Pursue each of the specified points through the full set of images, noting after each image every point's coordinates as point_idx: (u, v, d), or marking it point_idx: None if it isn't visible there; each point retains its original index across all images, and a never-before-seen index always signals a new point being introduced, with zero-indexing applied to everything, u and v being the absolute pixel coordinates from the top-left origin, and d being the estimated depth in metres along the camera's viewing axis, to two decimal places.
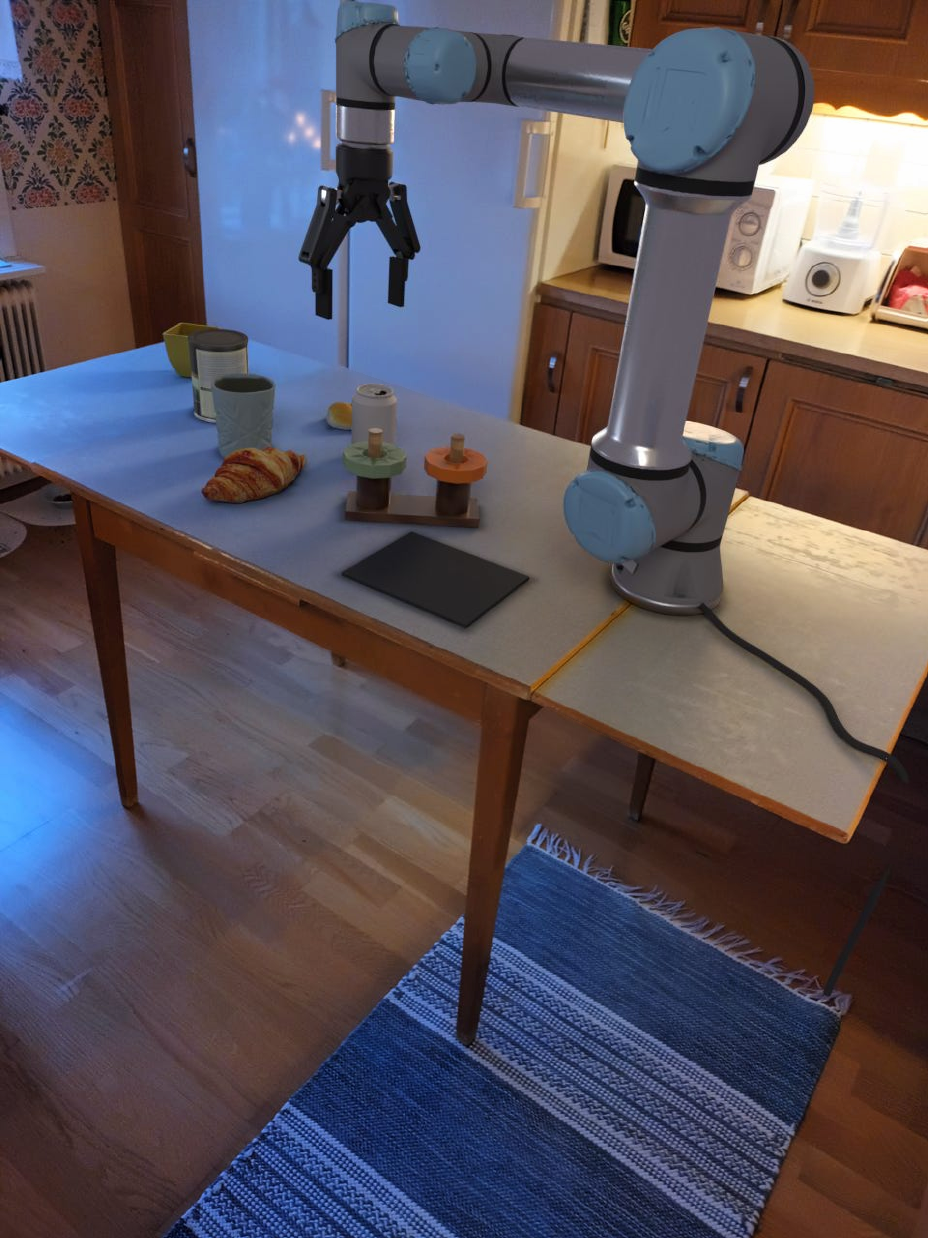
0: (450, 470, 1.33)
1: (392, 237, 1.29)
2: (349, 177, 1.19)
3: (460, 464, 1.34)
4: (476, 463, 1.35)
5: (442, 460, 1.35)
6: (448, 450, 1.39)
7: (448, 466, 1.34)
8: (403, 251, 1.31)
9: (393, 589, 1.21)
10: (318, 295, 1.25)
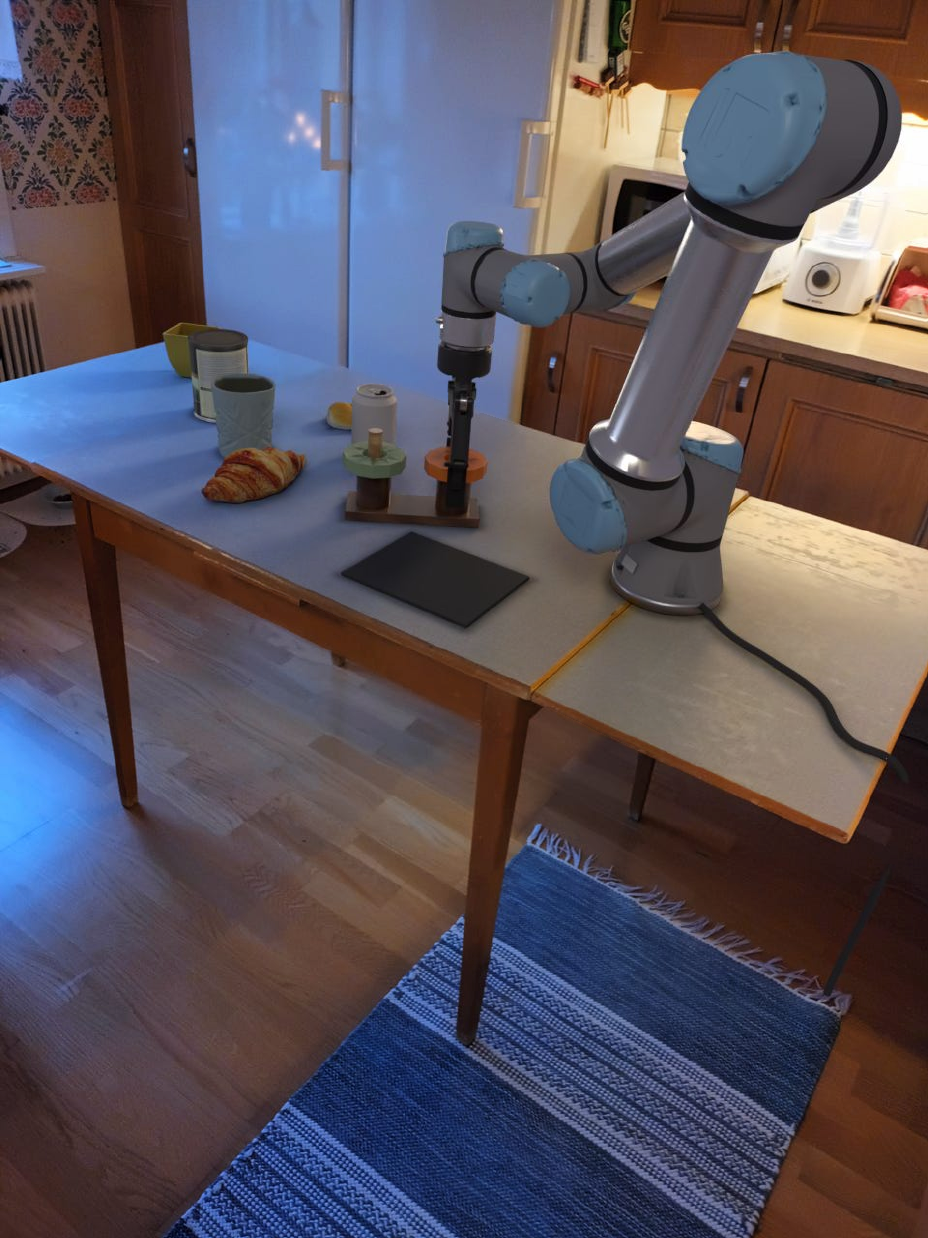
0: None
1: None
2: (473, 378, 1.26)
3: None
4: (476, 463, 1.35)
5: (442, 460, 1.35)
6: (448, 450, 1.39)
7: None
8: None
9: (393, 589, 1.21)
10: (451, 489, 1.33)
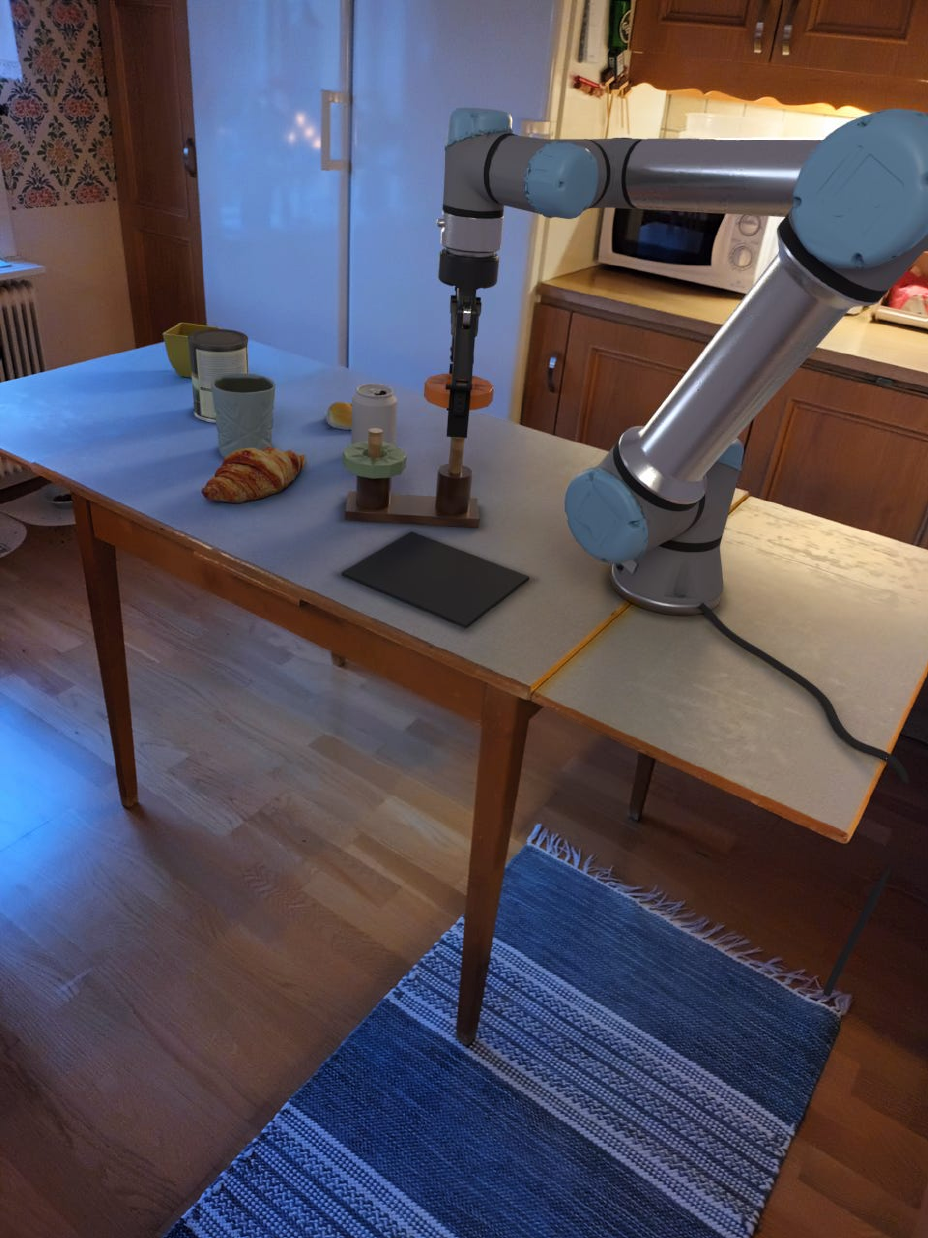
0: None
1: None
2: (477, 288, 1.13)
3: None
4: (481, 389, 1.22)
5: (444, 385, 1.22)
6: (451, 376, 1.26)
7: None
8: None
9: (393, 589, 1.21)
10: (453, 416, 1.20)
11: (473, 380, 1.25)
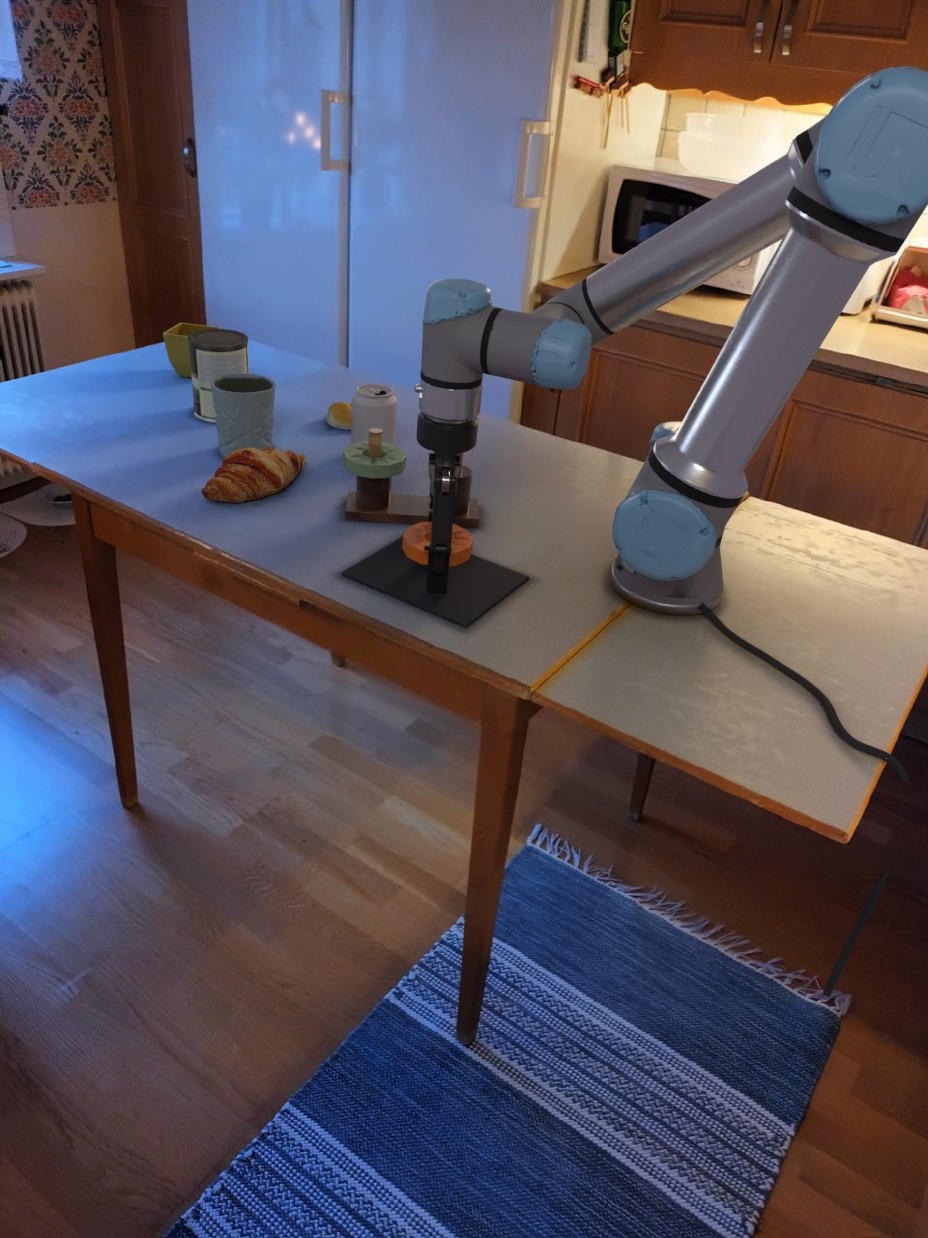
0: None
1: None
2: (456, 453, 1.12)
3: None
4: (460, 543, 1.21)
5: (422, 540, 1.21)
6: (430, 526, 1.24)
7: None
8: None
9: (393, 589, 1.21)
10: (432, 574, 1.19)
11: (452, 530, 1.24)
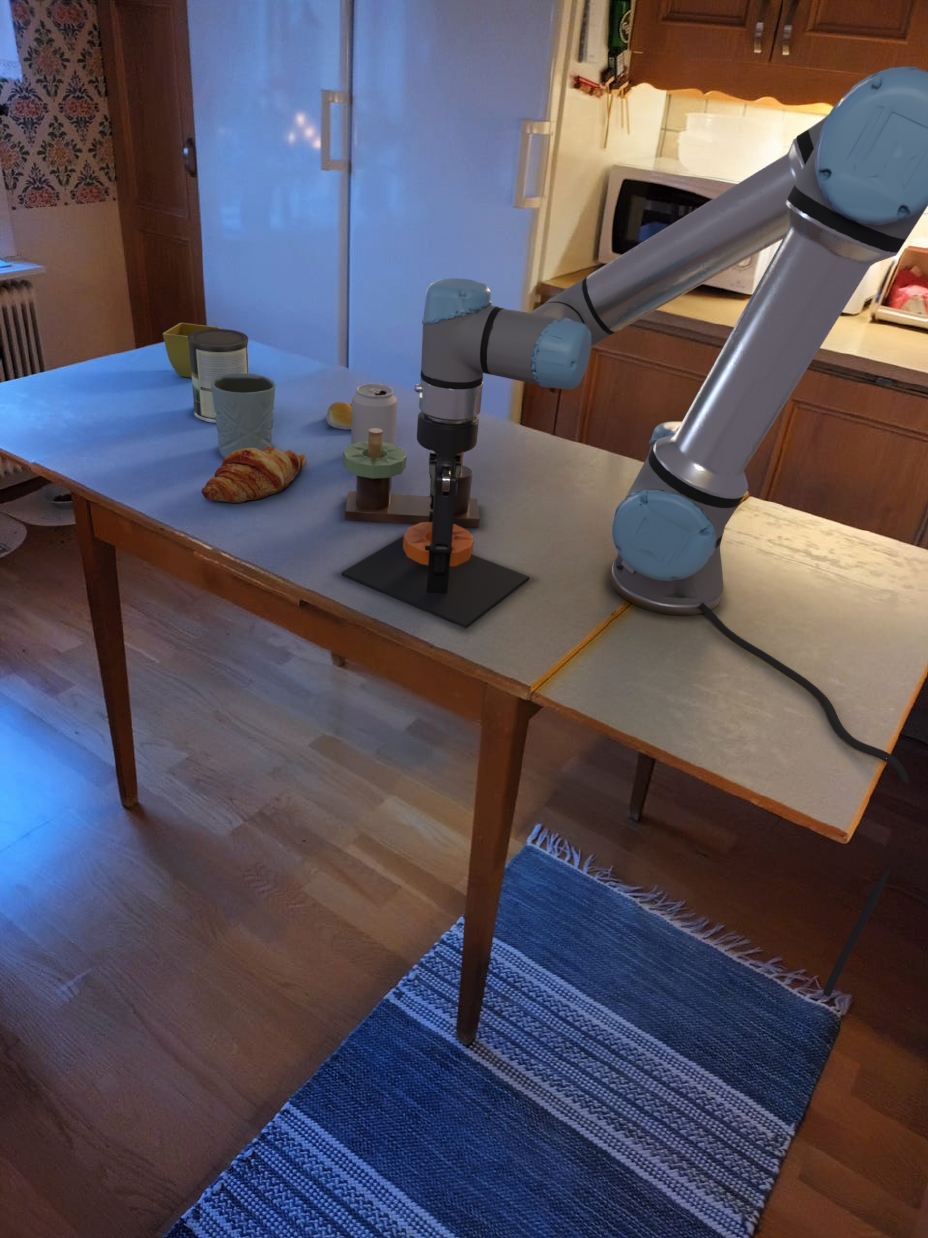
0: None
1: None
2: (456, 453, 1.12)
3: None
4: (461, 543, 1.21)
5: (423, 540, 1.21)
6: (430, 526, 1.24)
7: None
8: None
9: (393, 589, 1.21)
10: (433, 574, 1.19)
11: (453, 531, 1.24)
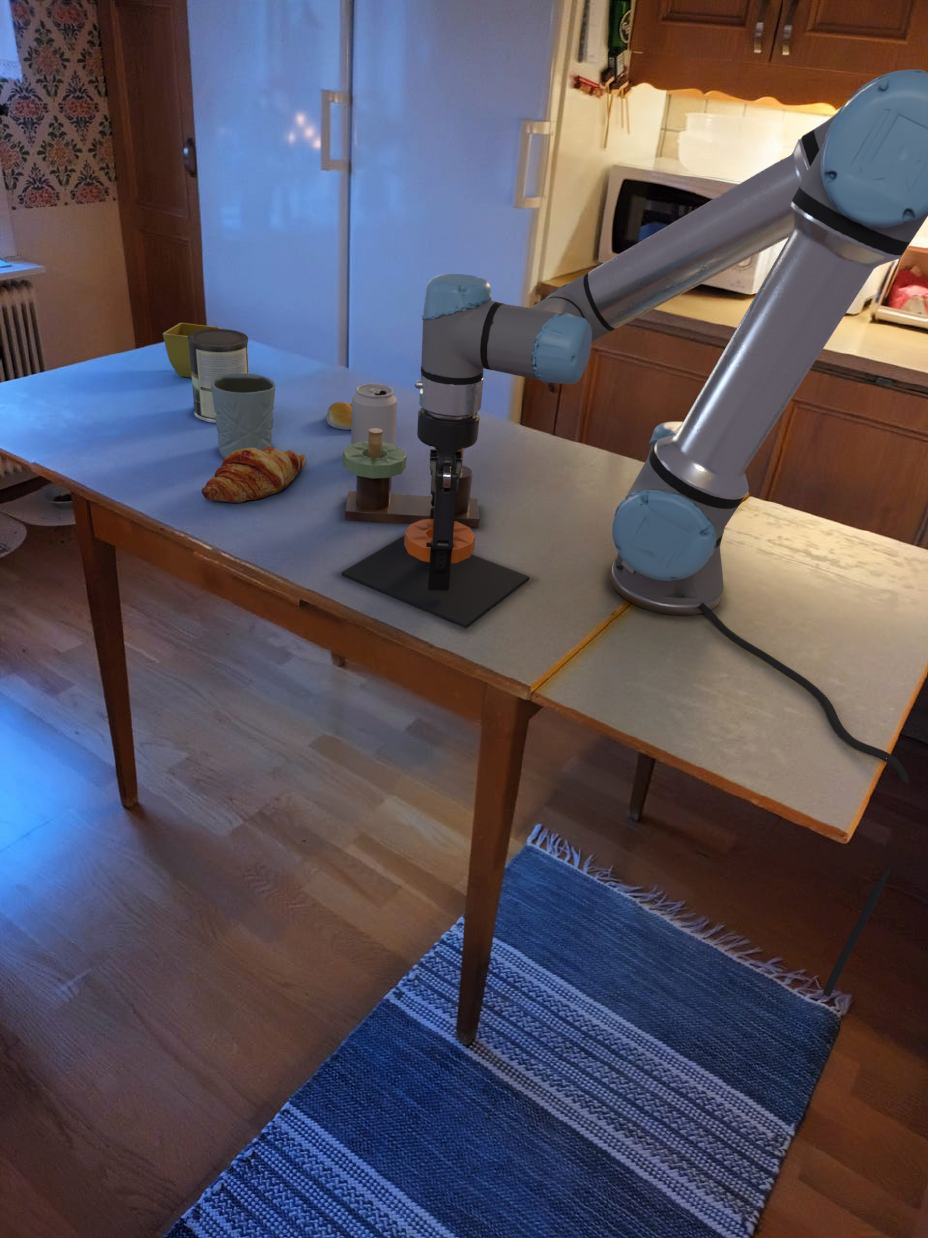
0: None
1: None
2: (457, 449, 1.11)
3: None
4: (462, 540, 1.21)
5: (424, 537, 1.20)
6: (431, 524, 1.24)
7: None
8: None
9: (393, 589, 1.21)
10: (434, 571, 1.18)
11: (454, 527, 1.23)
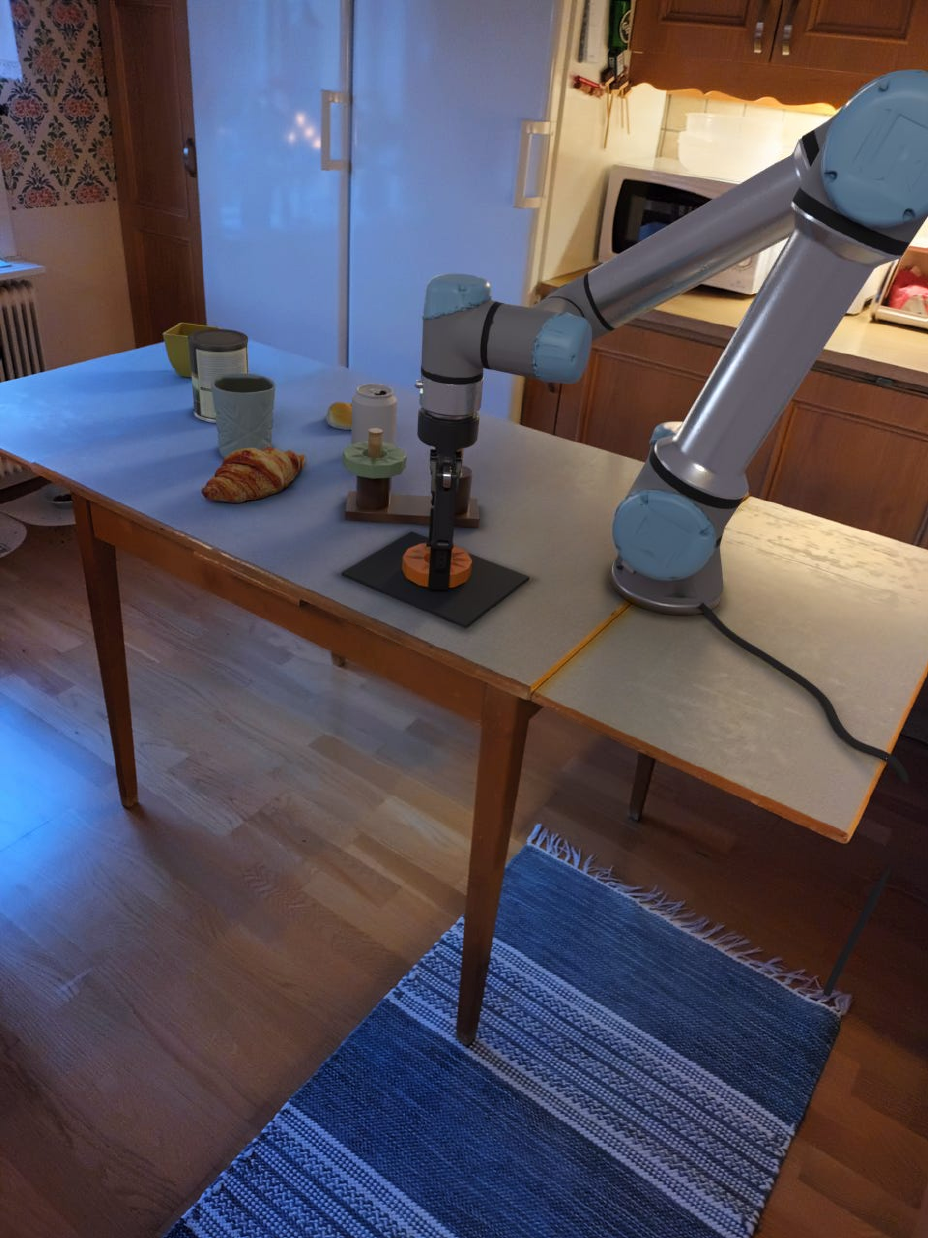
0: None
1: None
2: (457, 449, 1.11)
3: None
4: (459, 565, 1.22)
5: (422, 561, 1.22)
6: (429, 548, 1.26)
7: (428, 569, 1.21)
8: None
9: (393, 589, 1.21)
10: (434, 570, 1.18)
11: None
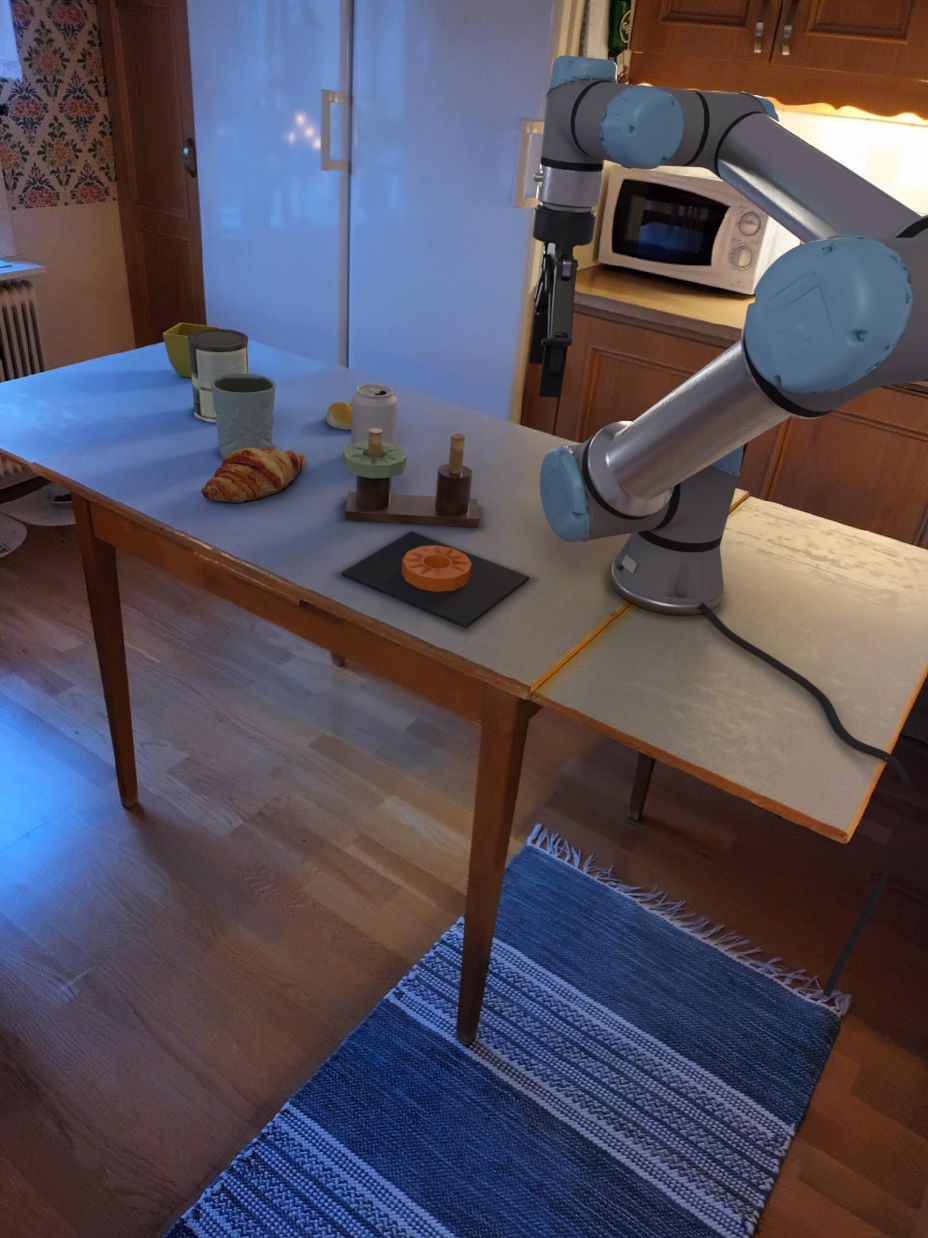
0: (430, 578, 1.20)
1: None
2: (575, 244, 1.10)
3: (441, 570, 1.22)
4: (459, 568, 1.23)
5: (421, 564, 1.23)
6: (429, 551, 1.26)
7: (428, 573, 1.21)
8: None
9: (393, 589, 1.21)
10: (547, 375, 1.15)
11: (451, 555, 1.26)
